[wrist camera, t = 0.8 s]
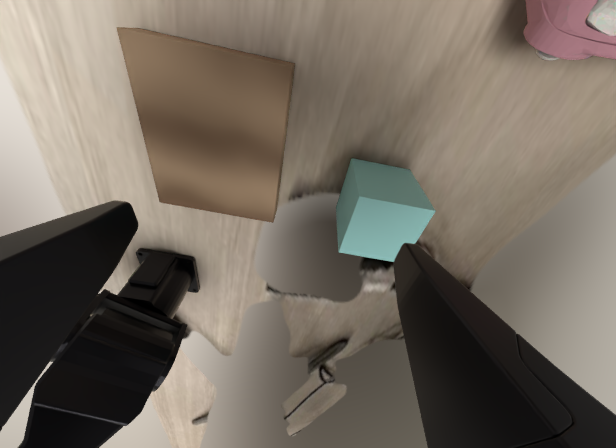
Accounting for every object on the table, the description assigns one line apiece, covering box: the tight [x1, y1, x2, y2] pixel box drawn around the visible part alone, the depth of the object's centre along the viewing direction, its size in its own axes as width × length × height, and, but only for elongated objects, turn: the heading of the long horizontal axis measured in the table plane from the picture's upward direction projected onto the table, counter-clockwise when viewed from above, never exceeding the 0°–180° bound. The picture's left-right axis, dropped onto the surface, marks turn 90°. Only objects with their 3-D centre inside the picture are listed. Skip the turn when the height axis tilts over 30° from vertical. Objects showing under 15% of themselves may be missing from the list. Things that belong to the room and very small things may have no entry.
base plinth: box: [117, 27, 295, 222], centre depth 18 cm, size 12×10×2 cm
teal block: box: [336, 158, 435, 262], centre depth 19 cm, size 5×5×6 cm
